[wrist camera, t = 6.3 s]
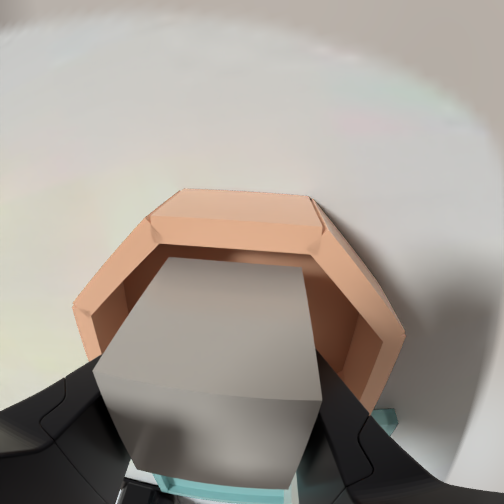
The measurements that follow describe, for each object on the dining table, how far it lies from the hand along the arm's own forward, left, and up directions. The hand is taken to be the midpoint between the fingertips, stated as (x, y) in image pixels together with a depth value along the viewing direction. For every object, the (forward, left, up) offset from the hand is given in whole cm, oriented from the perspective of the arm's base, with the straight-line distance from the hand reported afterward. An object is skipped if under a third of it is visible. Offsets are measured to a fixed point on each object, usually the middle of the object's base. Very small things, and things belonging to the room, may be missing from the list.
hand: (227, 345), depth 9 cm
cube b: (0, 0, -1) cm, 1 cm away
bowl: (-2, 0, -4) cm, 5 cm away
